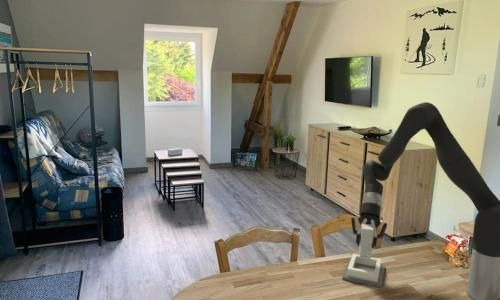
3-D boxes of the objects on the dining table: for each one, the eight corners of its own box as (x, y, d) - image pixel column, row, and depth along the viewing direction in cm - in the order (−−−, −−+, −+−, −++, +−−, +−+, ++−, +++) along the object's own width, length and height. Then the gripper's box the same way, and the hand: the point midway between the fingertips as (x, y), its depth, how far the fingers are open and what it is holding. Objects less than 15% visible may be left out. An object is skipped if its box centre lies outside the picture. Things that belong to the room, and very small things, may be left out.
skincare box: (371, 259, 146) (373, 230, 144) (359, 258, 147) (362, 229, 144) (370, 251, 152) (372, 223, 149) (358, 250, 153) (361, 222, 150)
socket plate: (384, 267, 154) (385, 258, 153) (381, 287, 140) (382, 277, 139) (349, 260, 160) (349, 251, 159) (342, 279, 145) (343, 269, 145)
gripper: (352, 199, 154) (345, 239, 145) (390, 204, 148) (385, 246, 140) (353, 207, 159) (347, 246, 151) (390, 212, 154) (385, 253, 146)
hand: (365, 246), depth 146 cm, fingers closed on skincare box, 4 cm apart
